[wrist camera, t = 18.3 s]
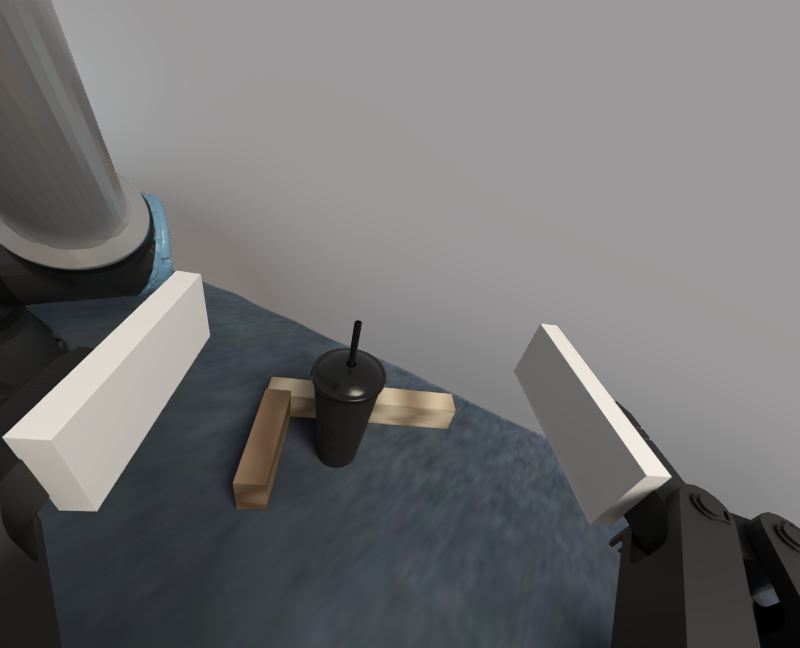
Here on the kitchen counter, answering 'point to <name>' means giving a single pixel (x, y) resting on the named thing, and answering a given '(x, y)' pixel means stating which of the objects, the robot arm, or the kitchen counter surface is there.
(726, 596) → the robot arm
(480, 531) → the kitchen counter surface
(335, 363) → the drinking cup
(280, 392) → the wooden l-shaped block
